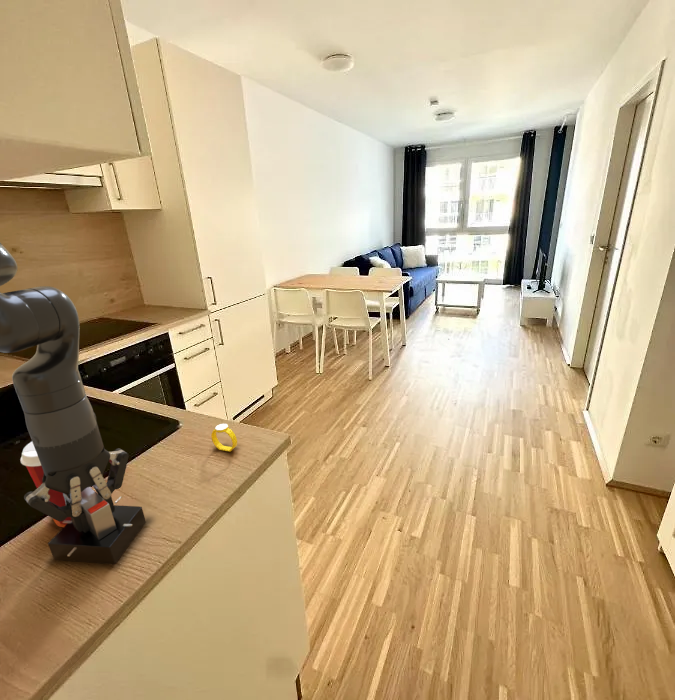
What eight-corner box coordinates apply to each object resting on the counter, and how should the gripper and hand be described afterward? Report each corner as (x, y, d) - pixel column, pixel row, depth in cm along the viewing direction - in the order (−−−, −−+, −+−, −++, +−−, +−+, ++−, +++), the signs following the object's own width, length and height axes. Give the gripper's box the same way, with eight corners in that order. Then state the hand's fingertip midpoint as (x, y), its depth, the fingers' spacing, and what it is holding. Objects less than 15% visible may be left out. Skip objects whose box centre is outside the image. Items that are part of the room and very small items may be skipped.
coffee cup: (112, 498, 67) (91, 429, 62) (78, 534, 60) (51, 459, 54) (72, 495, 68) (47, 428, 63) (33, 531, 61) (2, 457, 55)
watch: (240, 448, 81) (237, 425, 79) (233, 455, 79) (229, 432, 77) (219, 443, 83) (215, 421, 81) (211, 450, 81) (207, 427, 79)
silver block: (78, 518, 58) (69, 493, 57) (95, 508, 60) (87, 483, 58) (99, 540, 54) (90, 513, 52) (117, 528, 56) (108, 502, 54)
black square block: (39, 571, 54) (31, 553, 52) (95, 511, 65) (89, 494, 63) (112, 576, 53) (106, 558, 51) (156, 514, 63) (152, 497, 62)
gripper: (105, 402, 59) (129, 487, 65) (-7, 445, 48) (34, 542, 54) (128, 415, 54) (151, 504, 60) (11, 465, 44) (54, 568, 50)
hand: (96, 522), depth 57 cm, fingers closed on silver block, 2 cm apart
